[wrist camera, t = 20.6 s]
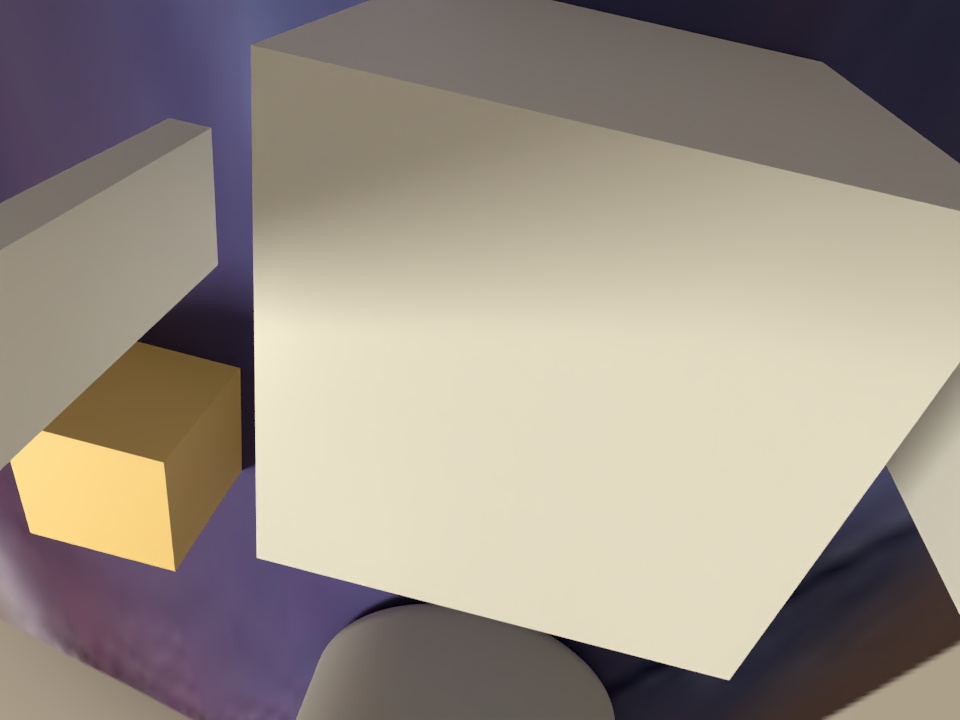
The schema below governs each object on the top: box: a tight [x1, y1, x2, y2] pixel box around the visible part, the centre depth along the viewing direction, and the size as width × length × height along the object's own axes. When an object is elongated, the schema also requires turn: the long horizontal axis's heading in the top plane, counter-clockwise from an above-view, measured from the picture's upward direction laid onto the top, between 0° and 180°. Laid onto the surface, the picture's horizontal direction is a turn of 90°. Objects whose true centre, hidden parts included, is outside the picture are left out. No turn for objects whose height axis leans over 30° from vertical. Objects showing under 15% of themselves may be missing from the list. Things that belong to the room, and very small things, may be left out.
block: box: [10, 342, 242, 571], centre depth 21 cm, size 4×4×4 cm
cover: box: [251, 0, 960, 680], centre depth 13 cm, size 8×8×9 cm
